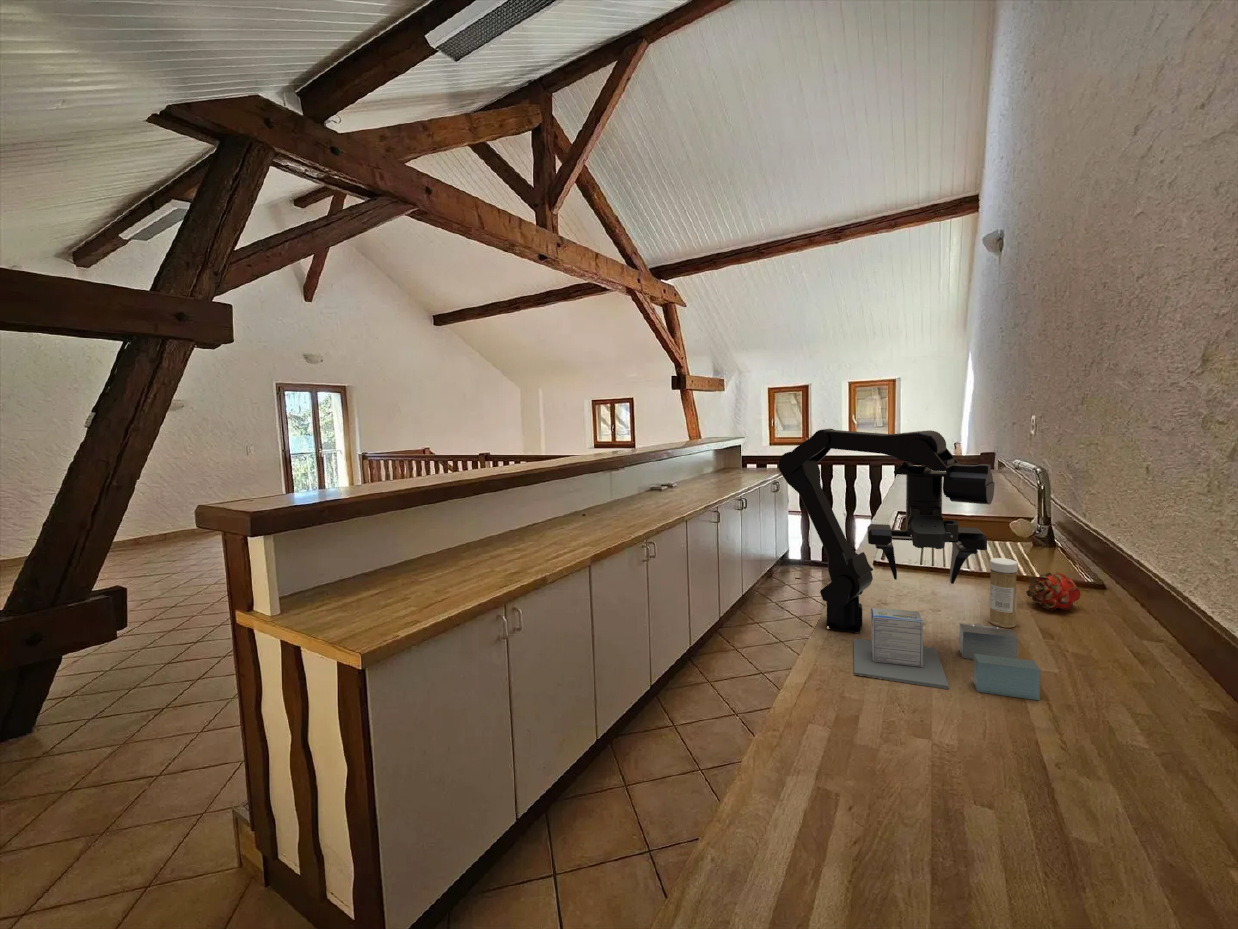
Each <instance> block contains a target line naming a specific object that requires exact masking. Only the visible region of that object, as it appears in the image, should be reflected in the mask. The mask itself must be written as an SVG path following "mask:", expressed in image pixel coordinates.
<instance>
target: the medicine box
mask: <svg viewBox="0 0 1238 929" xmlns="http://www.w3.org/2000/svg"><path fill="white" fill-rule="evenodd" d="M870 610H871V611H870V614H871V615H870V625H871V626H870V628H871V629H870V633H871V634H870V635H871V636H870V637H871V639H870V640H871V649H872V657H873V661H874V662H882V663H891V664H900V665H909V666H918V667H923V647H924V645H923V644H924V621H923V618H922V616H921V614H920V612H919V611H917V610H906V609H896V608H895V609H891V608H879V607H872V608H870Z"/></svg>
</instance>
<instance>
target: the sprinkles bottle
mask: <svg viewBox="0 0 1238 929" xmlns="http://www.w3.org/2000/svg"><path fill="white" fill-rule="evenodd" d="M1018 566H1019V565H1018V562H1017V561H1016V560H1014V559H1010V558H1006V557H1005V558H1004V557H995V558H993V557H992V558H991V559H990V560H989V570H990V582H989V619H988V621H989V623H990V624H992V625H993V626H995V627H999V628H1007V629H1008V628H1011V629H1012V628H1014V627H1016V626H1017V622H1016V616H1017V613H1016V612H1017V573H1018V568H1019V567H1018Z"/></svg>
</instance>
